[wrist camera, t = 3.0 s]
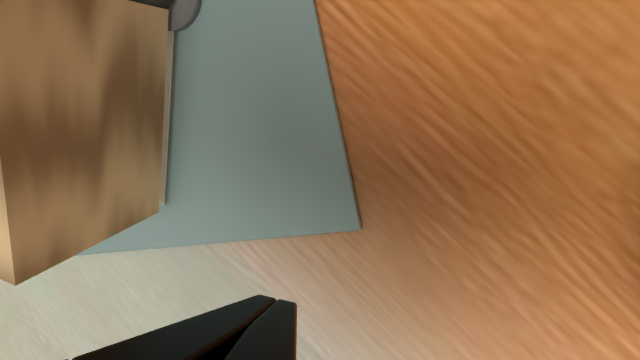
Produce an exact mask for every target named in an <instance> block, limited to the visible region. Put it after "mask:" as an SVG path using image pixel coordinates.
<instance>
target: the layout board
mask: <svg viewBox="0 0 640 360" xmlns="http://www.w3.org/2000/svg"><path fill="white" fill-rule="evenodd" d="M167 10H169V15H168V35H167V56H166V77H165V98H164V119H163V139H162V160H161V181H160V202H159V213H157V214H155V215H153V216H151V217H149V218H147V219H145V220H143V221H141V222H139V223H137V224H135V225H133V226H131V227H129V228H127V229H125V230H123V231H121V232H119V233H117V234H115V235H114V236H112V237H110V238H108V239H106V240H104V241H102V242H100V243H98V244H96V245H94V246H92V247H90V248H88V249H86V250H84V251H82V252H80V253H78V254H76V255H87V254H99V253H110V252H121V251H133V250H144V249H155V248H167V247H178V246H189V245H201V244H212V243H223V242H235V241H246V240H257V239H268V238H280V237H291V236H302V235H314V234H325V233H336V232H348V231H359V230H361V228H362V226H361V221H360V216H359V212H358V207H357V202H356V197H355V192H354V187H353V183H352V178H351V173H350V168H349V163H348V158H347V154H346V149H345V144H344V139H343V134H342V129H341V125H340V120H339V115H338V110H337V105H336V100H335V96H334V91H333V86H332V81H331V76H330V71H329V67H328V62H327V57H326V52H325V47H324V42H323V38H322V33H321V28H320V23H319V18H318V13H317V9H316V4H315V0H173V2H172V4H171V5H170V6H169V7H168V8H167ZM76 255H74V256H76Z"/></svg>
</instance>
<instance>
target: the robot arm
mask: <svg viewBox="0 0 640 360" xmlns="http://www.w3.org/2000/svg"><path fill="white" fill-rule="evenodd" d="M296 338H297V305H296V303H294V302H290V301H285V300H280V299H279V300H276V299H275V298H272V297H268V296H263V295H256V296H253V297H250V298H247V299H245V300H242V301H239V302H236V303H233V304H230V305H227V306H224V307H221V308H218V309H215V310H212V311H209V312H206V313H203V314H201V315H198V316H195V317H192V318H189V319H186V320H183V321H180V322H177V323H174V324H171V325H168V326H165V327H162V328H159V329H156V330H154V331H151V332H148V333H145V334H142V335H139V336H136V337H133V338H130V339H127V340H124V341H121V342H118V343H115V344H112V345H110V346H107V347H104V348H101V349H98V350H95V351H92V352H89V353H86V354H83V355H80V356H77V357H75V358H73V359H72V360H296ZM66 360H68V359H66Z"/></svg>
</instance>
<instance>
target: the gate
mask: <svg viewBox="0 0 640 360" xmlns="http://www.w3.org/2000/svg"><path fill="white" fill-rule="evenodd" d="M172 2H173V0H0V279H2V280H4V281H6V282H8V283H11V284H13V285H15V286H16V285H18V284H20V283H22V282H24V281H25V280H27V279H29V278H31V277H33V276H35V275H37V274H39V273H41V272H43V271H45V270H47V269H49V268H51V267H53V266H55V265H57V264H59V263H61V262H63V261H65V260H67V259H69V258H70V257H72V256H74V255H76V254H78V253H80V252H82V251H84V250H86V249H88V248H90V247H92V246H94V245H96V244H98V243H100V242H102V241H104V240H106V239H108V238H110V237H112V236H114V235H115V234H117V233H119V232H121V231H123V230H125V229H127V228H129V227H131V226H133V225H135V224H137V223H139V222H141V221H143V220H145V219H147V218H149V217H151V216H153V215H155V214H157V213H159V202H160V181H161V160H162V139H163V119H164V98H165V77H166V56H167V35H168V15H169V10H167V8H168V7H169V6H170V5H171V4H172Z"/></svg>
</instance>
